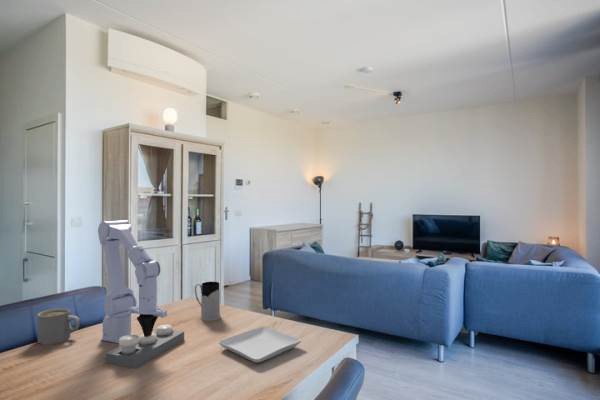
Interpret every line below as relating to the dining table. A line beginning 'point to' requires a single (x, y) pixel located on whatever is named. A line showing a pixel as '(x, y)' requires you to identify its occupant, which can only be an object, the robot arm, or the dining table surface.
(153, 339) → the knob
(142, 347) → the mount
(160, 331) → the knob
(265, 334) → the salad plate
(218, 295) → the grey black pitcher
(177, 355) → the dining table surface
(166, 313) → the robot arm
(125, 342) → the knob
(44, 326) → the coffee mug
